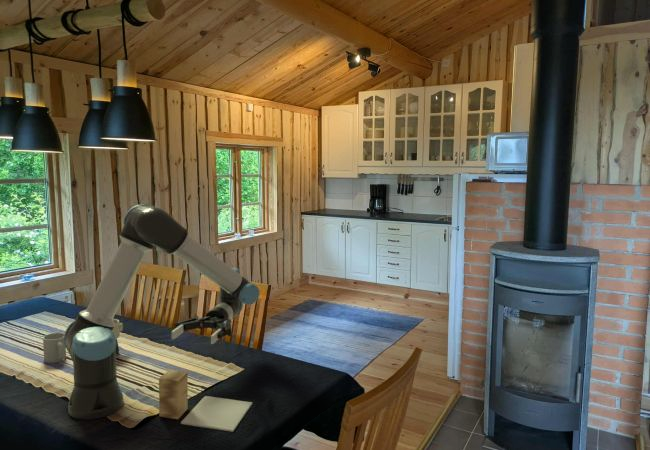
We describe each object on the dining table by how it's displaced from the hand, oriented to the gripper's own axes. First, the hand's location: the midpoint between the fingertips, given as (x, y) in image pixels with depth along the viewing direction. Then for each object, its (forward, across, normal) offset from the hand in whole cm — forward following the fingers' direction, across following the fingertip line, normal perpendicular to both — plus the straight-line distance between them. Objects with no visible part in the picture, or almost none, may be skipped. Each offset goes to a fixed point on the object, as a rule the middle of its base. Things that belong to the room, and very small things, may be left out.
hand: (191, 337), depth 152 cm
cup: (-10, +59, -19) cm, 63 cm away
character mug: (-20, +44, -19) cm, 52 cm away
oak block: (+12, 0, -19) cm, 23 cm away
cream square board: (+9, -13, -19) cm, 25 cm away
